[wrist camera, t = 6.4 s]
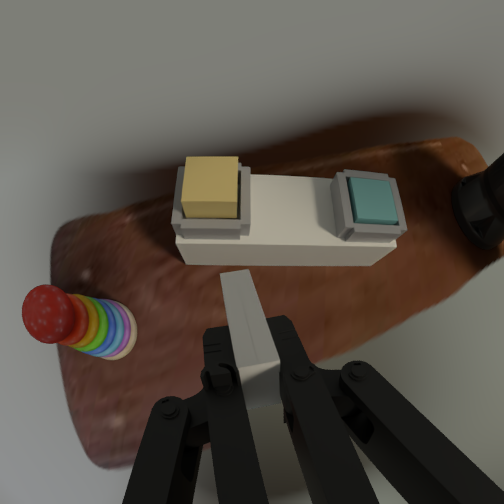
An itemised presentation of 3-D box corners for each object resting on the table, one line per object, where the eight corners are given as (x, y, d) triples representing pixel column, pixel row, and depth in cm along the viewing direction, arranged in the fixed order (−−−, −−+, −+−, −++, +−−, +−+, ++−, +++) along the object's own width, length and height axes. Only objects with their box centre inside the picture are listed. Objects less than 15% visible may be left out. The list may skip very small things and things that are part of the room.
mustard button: (237, 175, 32) (238, 156, 29) (236, 218, 30) (237, 201, 27) (190, 175, 32) (186, 156, 28) (186, 217, 30) (180, 201, 27)
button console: (362, 210, 44) (393, 171, 33) (370, 265, 41) (408, 238, 30) (190, 204, 42) (179, 159, 32) (186, 264, 39) (170, 232, 29)
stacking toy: (99, 367, 34) (11, 369, 16) (80, 314, 36) (-8, 281, 18) (148, 347, 35) (78, 340, 18) (126, 292, 37) (53, 244, 20)
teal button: (377, 195, 35) (389, 181, 32) (384, 232, 34) (398, 220, 30) (341, 192, 35) (350, 177, 32) (346, 230, 33) (357, 218, 30)
